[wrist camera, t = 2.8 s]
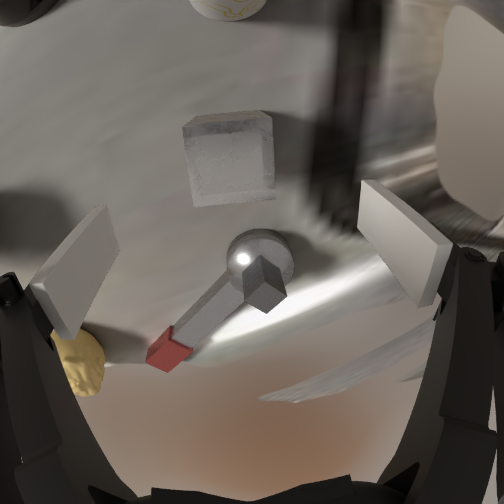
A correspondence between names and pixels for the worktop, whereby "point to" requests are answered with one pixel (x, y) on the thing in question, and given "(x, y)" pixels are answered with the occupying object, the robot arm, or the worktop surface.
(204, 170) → the frosted translucent cube
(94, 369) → the sculpture
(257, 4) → the cup
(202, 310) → the ratchet
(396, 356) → the worktop surface
